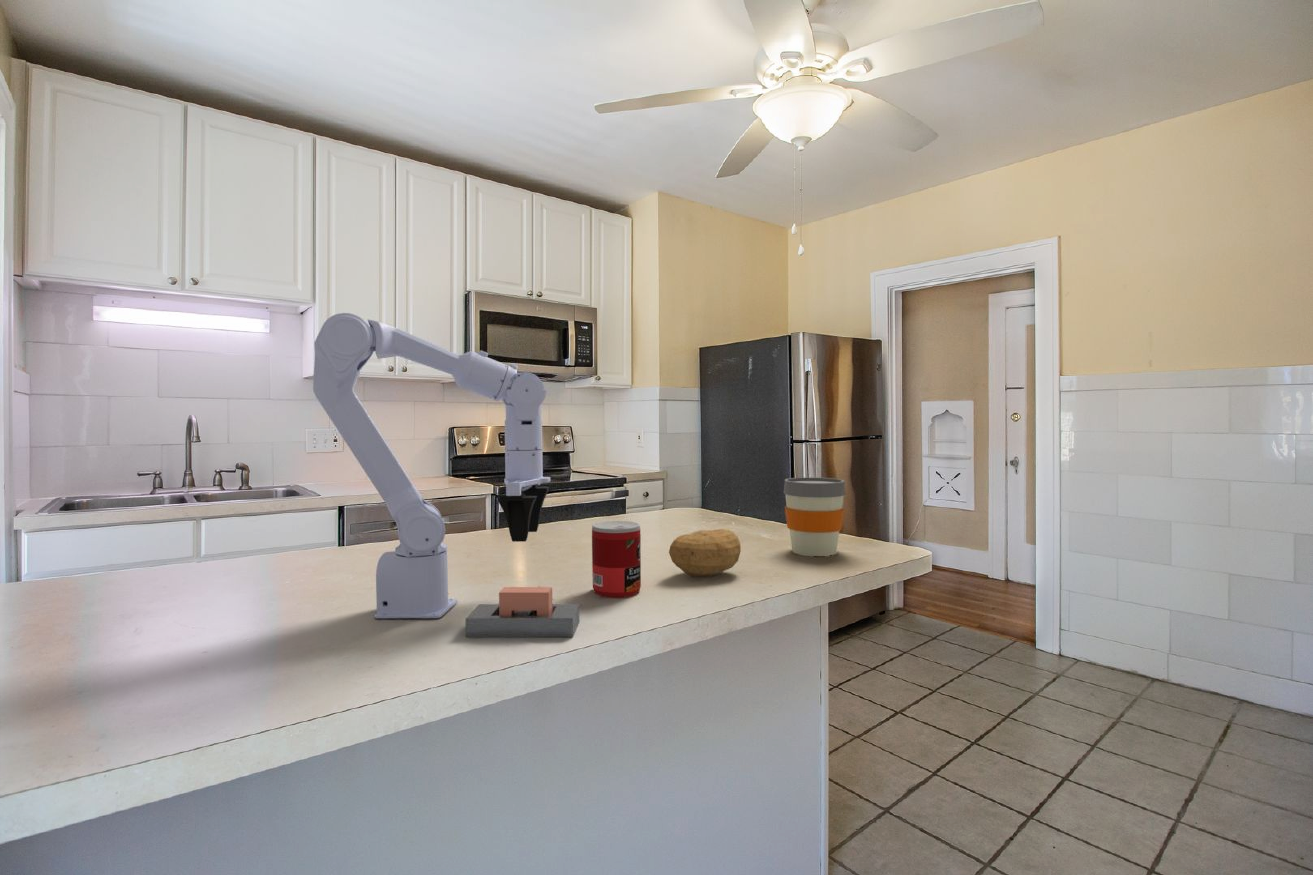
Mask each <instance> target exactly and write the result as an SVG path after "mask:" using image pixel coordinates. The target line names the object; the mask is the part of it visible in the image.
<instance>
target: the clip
mask: <svg viewBox="0 0 1313 875" xmlns="http://www.w3.org/2000/svg"><path fill="white" fill-rule="evenodd" d="M498 604H499V616H514V614H515V613H516V610H537V616H551V615H552V613H553V608H552V604H553V587H552V586H504V587H503V588H502V589H501V590H500V591H499V592H498Z"/></svg>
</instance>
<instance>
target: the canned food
mask: <svg viewBox="0 0 1313 875" xmlns="http://www.w3.org/2000/svg"><path fill="white" fill-rule="evenodd" d="M591 527H592V528H591V558H592V559H591V560H592V562H591V563H592V564H591V566H592V568H591V569H592V570H591V571H592V574H591V575H592V589H593V592H594V594H595V595H596V596H599V597H603V598H611V599H612V598H614V599H619V598H628V597H633V596H636V595H637V594H638V593H640V591H641V587H642V584H641V582H642V578H641V577H642V573H641V570H642V569H641V567H642V565H641V564H642V563H641V562H642V561H641V560H642V559H641V558H642V556H641V554H642V553H641V552H642V551H641V548H642V546H641V544H642V543H641V540H642V538H641V536H642V535H641V524H640V523H638V522H634V521H629V520H628V521H626V520H610V521H609V520H607V521H599V522H595V523H593V524H592V525H591Z"/></svg>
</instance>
